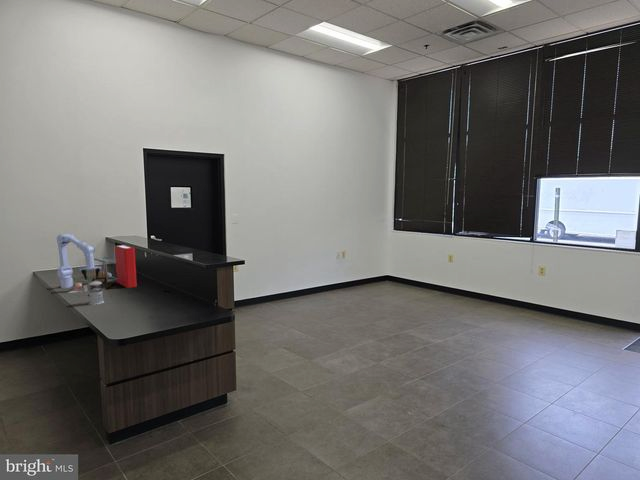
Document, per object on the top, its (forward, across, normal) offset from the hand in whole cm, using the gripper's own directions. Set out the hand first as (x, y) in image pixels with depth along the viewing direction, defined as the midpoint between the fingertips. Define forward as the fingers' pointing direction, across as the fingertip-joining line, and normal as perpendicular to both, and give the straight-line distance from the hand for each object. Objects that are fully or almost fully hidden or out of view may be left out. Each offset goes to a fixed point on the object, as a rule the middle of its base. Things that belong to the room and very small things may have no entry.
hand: (91, 279), depth 326 cm
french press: (+11, +11, -37) cm, 40 cm away
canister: (+8, -11, +5) cm, 14 cm away
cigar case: (+9, -1, +28) cm, 29 cm away
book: (+10, +22, +18) cm, 30 cm away
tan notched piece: (+9, -8, +5) cm, 13 cm away
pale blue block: (+9, -10, -3) cm, 14 cm away
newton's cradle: (+9, 0, +48) cm, 49 cm away
